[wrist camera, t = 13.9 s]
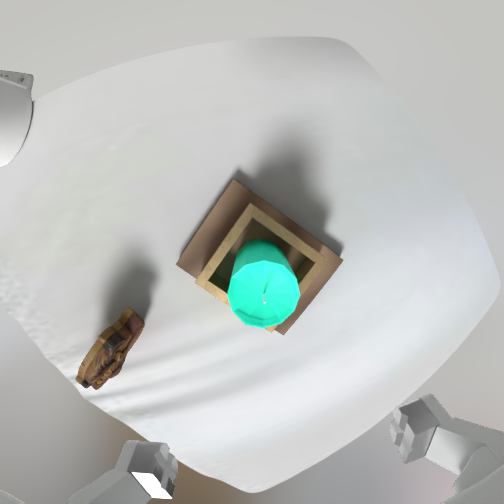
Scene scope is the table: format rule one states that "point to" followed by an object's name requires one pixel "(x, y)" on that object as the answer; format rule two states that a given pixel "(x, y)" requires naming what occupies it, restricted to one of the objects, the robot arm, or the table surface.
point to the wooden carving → (110, 351)
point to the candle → (262, 285)
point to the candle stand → (247, 229)
